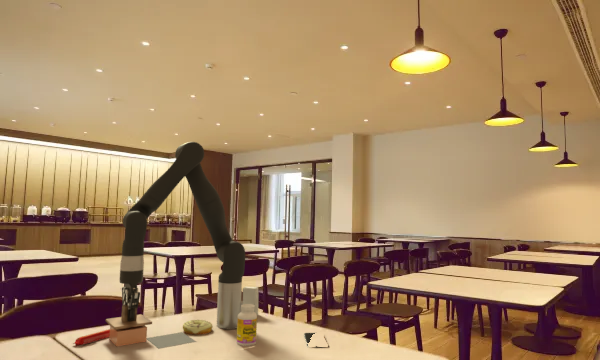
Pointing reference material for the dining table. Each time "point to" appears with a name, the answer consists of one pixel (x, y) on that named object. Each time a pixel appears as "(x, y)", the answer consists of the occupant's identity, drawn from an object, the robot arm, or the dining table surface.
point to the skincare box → (251, 297)
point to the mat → (170, 340)
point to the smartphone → (308, 337)
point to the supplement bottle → (247, 325)
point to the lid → (124, 323)
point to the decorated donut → (197, 327)
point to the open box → (128, 335)
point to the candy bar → (92, 337)
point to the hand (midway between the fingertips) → (129, 319)
